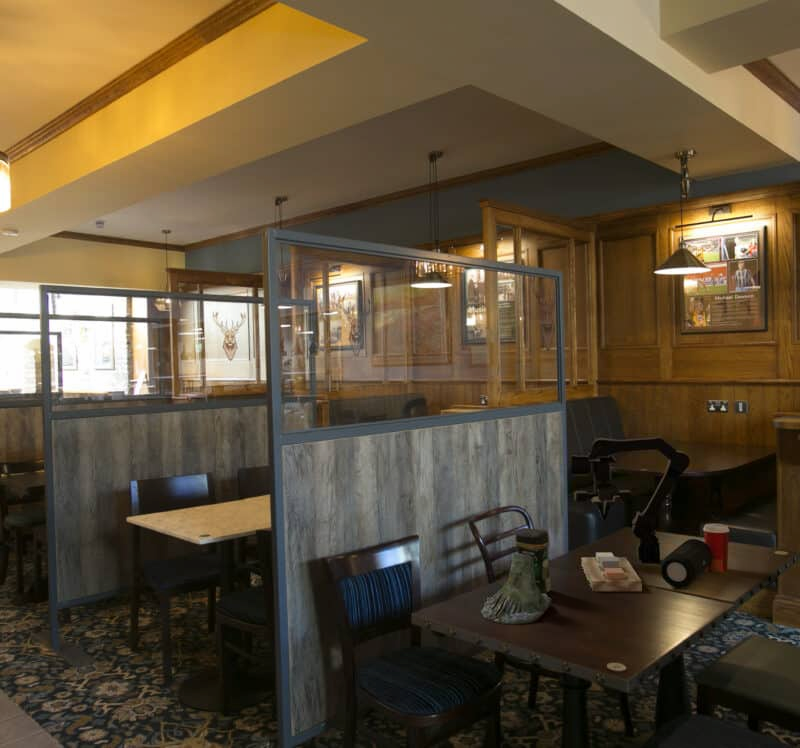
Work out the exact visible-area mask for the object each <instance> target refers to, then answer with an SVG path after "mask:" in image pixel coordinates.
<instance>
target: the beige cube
mask: <svg viewBox="0 0 800 748" xmlns="http://www.w3.org/2000/svg"><path fill="white" fill-rule="evenodd" d="M595 557H596V562H597V563H600V557H615V556H614V554H613V552H595Z"/></svg>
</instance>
